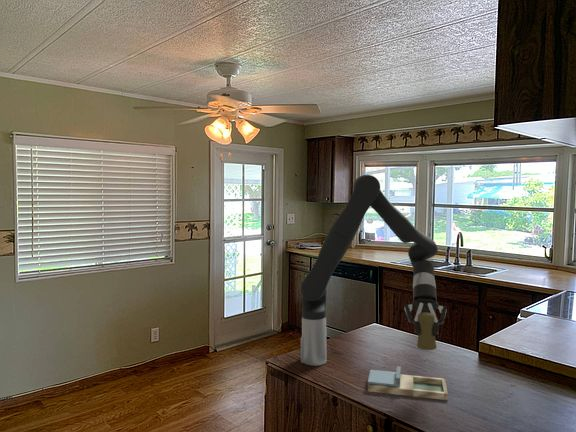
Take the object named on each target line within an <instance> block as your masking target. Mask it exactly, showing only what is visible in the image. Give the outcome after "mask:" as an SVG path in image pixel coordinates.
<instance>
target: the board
mask: <svg viewBox="0 0 576 432" xmlns="http://www.w3.org/2000/svg"><path fill="white" fill-rule="evenodd" d="M446 383H447V382H446V379H445V378H443V377H432V376H421V375H413V374H412V375H409V374H403V373H402V374H401V378H400V387H398V386H388V385H379V384H369V383H368V382H367V392H369V393H370V392H371V393H379V394H390V395H396V396H397V395H398V396H407V397H416V398H424V399H433V400H434V399H435V400H442V401H448V400H449V399H448V398H449V394H448V393H449V392H448V388H447V384H446Z"/></svg>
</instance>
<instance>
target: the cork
mask: <svg viewBox="0 0 576 432" xmlns="http://www.w3.org/2000/svg"><path fill="white" fill-rule="evenodd" d="M434 320H435V318H434V315H433V314H432V313H428V312H422V313H419V315H418V321H419V335H417V343H416V347H417V348H418V349H421V350H422V351H423V350H425V351H432V350H434V351H435V350H436V349H437V342H436V341H437V340H436V337H435V336H434V330H433V323H434Z"/></svg>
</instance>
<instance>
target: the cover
mask: <svg viewBox="0 0 576 432" xmlns="http://www.w3.org/2000/svg"><path fill="white" fill-rule="evenodd" d="M401 367H402V366H399V365H397V366H396V371H390V370H389V371H388V370H387V371H386V370H379V369H378V370H377V369H370V370H369V375H368V379H367V384H368V383H369V384H379V385H388V386H398V387H400V378H401V369H402V368H401Z"/></svg>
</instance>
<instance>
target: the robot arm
mask: <svg viewBox="0 0 576 432" xmlns="http://www.w3.org/2000/svg"><path fill="white" fill-rule="evenodd" d="M352 189H353V190H352V193H351V195H350V198H349V200H348V202H347V204H346V206H345V207H344V209H343V210H342V212H340V214H339V215H338V216H337V218H336V219H335V221H334V222H333V224H332V225H331V227H330V228H329V231H328V232H327V234H326V236H325V238H324V241H323V243H322V245H321V248H320V251H319V253H318V256H317V257H316V260H315V262H314V264H313V265H312V268H311V269H310V271H309V272H308V273H307V275H305V276H304V277H303V279H302V281H301V284H300V293H301V297H302V298H301V300H302V301H301V302H302V303H301V337H300V363H301V364H305V365H308V366H316V367H317V366H323V365H325V364H326V363H327V359H328V357H327V286H328V284H329V281H330V279H331V277H332V275H333V273H334V271H335V269H336V268H337V267H338V265H339V263H340V262H341V261H342V260H343V258H344V256H345V255H346V254H347V251H348V250H349V248H350V246H351V245H352V242H353V241H354V239H355V237H356V234H357V232H358V230H359V228H360V226H361V224H362V221H363V219H364V218H365V215H366V213H367V212H368V210H369V209H370V208H371V209H373V211H375V213H377V214H378V216H379V217H380V218H381V220H382V221H383V222H384V223H385V224H386V226H387V227H388V228H389V229H390V231H392V232H393V233H394V235H395V236H396V237H397V238H398V240H400V241H401V242H402V243H403V244H408V243H414V244H413V245H411V246H410V247H409V249H408V253H407V254H408V258H409V260H410V263H411V266H412V271H413V274H412V275H413V279H412V280H413V281H412V298H413V299H412V300H413V302H411V304H407V303H405V304H404V309H403V310H404V312H405V315H406V318H407V320H408V323H409V324H413V325H414V334H416V335H417V336H418V335H419V324H420V323H419V321H418V315H419V313H422V312H428V313H432V314H433V315H434V318H435V320H434V323H433V330H434V336H435V338H436V337H437V336H438V335H439V326H440V325H441V326H443V325H444V322H445V319H446V314H447V310H448V306H447V305H439V303H438V299H437V284H436V279H435V268H434V265H433V263H432V262H431V261H429V259H431V258H433V257H435V256H436V255H437V254H438V249H439V248H438V245H437V244H436V242H435V241H434V240H433V239H432V238H431V237H429V236H427V235H426V234H424V233H423V232H422V231H420V230H418V229H417V228H416V227H415V226H414V225H413V223H411V221H410V220H409V219H408V218H407V217H406V216H405V215H404V214H403V213H402V212H401V211H400V210H399V209H398V208H397V207H396V206H395V205H394V204H393V203H391V201H389V199H388V198H387V197H386V196H385V194H384V193H383V192H382V190H381V184H380V181H379V179H378V177H376V176H375V175H371V174H363V175H359V176H358V177H357V178H356V179H355V180H354V181H353V184H352ZM412 309H413V311H414V312H416V314H415V316H414V317H413V316H412ZM438 310H439V313H440V318H438V317H437V314H436V312H437V311H438Z"/></svg>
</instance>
